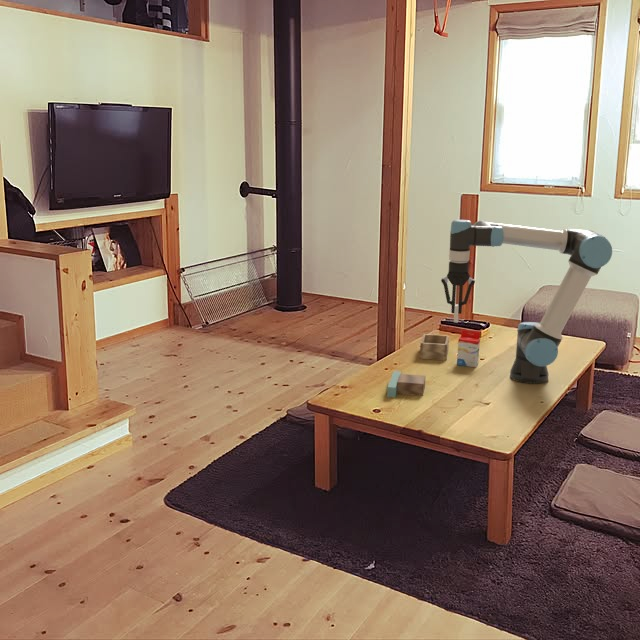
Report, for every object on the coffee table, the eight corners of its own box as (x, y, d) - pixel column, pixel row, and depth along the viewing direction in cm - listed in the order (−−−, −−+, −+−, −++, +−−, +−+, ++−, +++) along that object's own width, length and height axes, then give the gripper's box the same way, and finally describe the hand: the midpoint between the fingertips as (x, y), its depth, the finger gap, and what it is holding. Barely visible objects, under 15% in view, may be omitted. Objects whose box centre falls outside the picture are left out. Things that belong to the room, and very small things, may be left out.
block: (425, 387, 308) (425, 375, 307) (423, 396, 299) (423, 383, 297) (399, 385, 310) (400, 373, 309) (396, 394, 301) (397, 381, 299)
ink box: (456, 365, 336) (458, 332, 332) (459, 361, 340) (460, 329, 337) (476, 367, 333) (478, 334, 329) (478, 364, 337) (480, 331, 333)
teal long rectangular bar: (401, 380, 315) (401, 371, 314) (395, 397, 296) (395, 387, 295) (393, 380, 316) (393, 370, 315) (387, 397, 297) (387, 387, 296)
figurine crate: (448, 350, 357) (449, 335, 355) (446, 360, 342) (447, 344, 341) (422, 348, 359) (423, 333, 358) (419, 358, 345) (420, 343, 343)
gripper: (476, 260, 299) (473, 320, 305) (442, 258, 301) (439, 318, 307) (476, 263, 292) (472, 325, 298) (441, 262, 294) (438, 323, 300)
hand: (455, 321), depth 302 cm, fingers closed
